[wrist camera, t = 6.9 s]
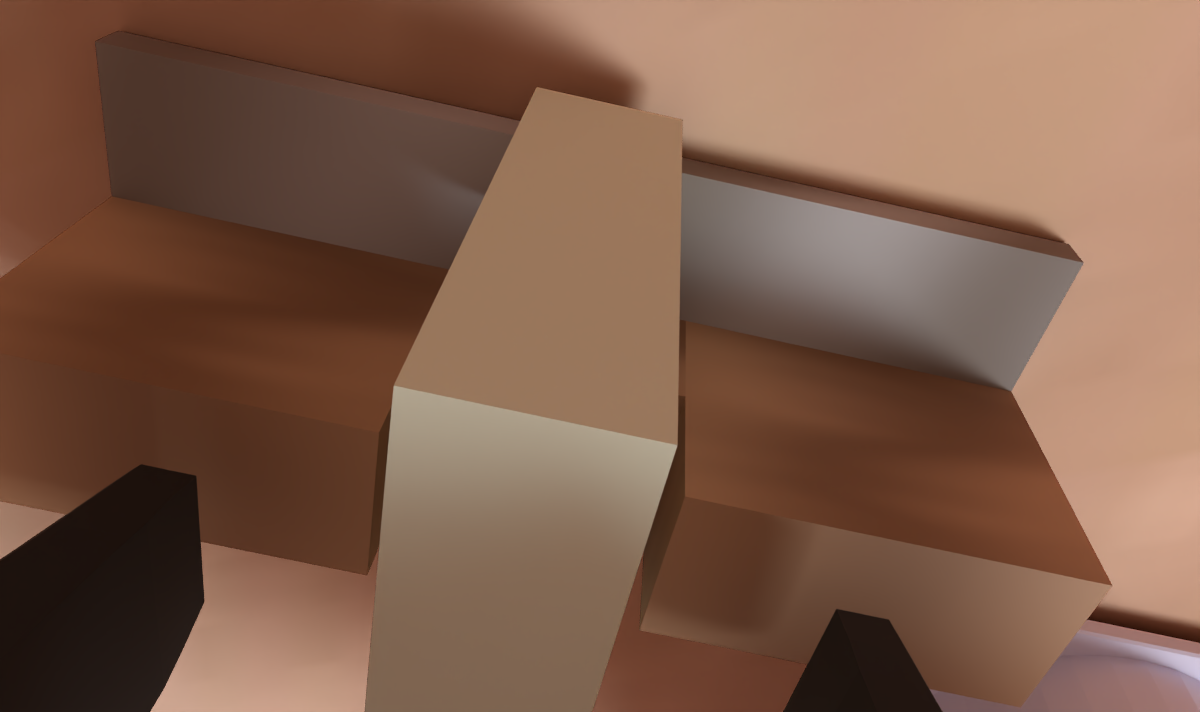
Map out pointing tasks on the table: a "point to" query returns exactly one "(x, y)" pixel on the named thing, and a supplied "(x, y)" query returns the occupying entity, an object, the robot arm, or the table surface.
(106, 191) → the table surface
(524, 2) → the table surface
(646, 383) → the cream h-shaped block
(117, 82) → the slotted base
